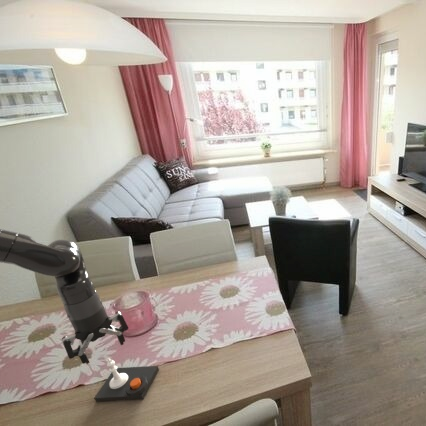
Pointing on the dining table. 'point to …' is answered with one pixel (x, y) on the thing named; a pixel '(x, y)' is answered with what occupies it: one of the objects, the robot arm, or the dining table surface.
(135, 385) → the button
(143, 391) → the dark grey flat block
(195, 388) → the dining table surface
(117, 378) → the chess piece
